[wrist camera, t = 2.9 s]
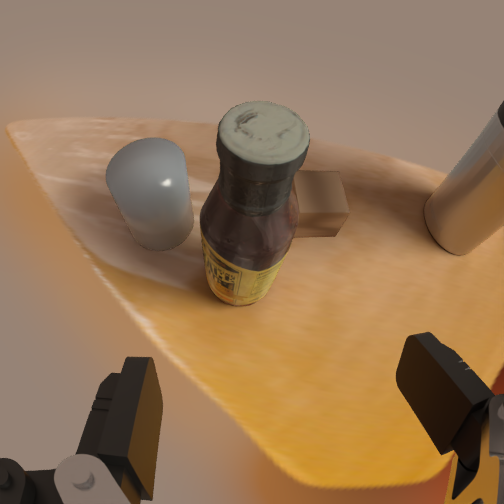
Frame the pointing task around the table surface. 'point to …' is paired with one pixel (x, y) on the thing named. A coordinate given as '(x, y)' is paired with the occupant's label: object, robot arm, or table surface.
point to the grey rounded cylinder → (152, 192)
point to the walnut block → (319, 203)
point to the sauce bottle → (252, 200)
